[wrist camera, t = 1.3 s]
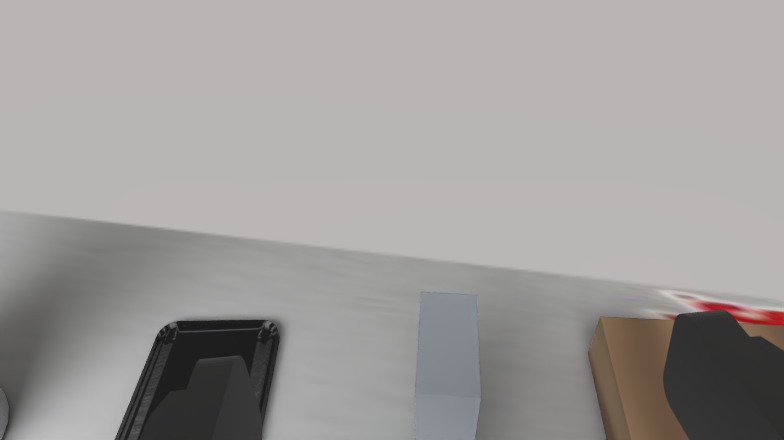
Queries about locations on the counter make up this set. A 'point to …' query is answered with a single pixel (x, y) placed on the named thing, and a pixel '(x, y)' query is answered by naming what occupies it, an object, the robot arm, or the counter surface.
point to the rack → (642, 375)
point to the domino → (447, 368)
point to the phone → (185, 348)
